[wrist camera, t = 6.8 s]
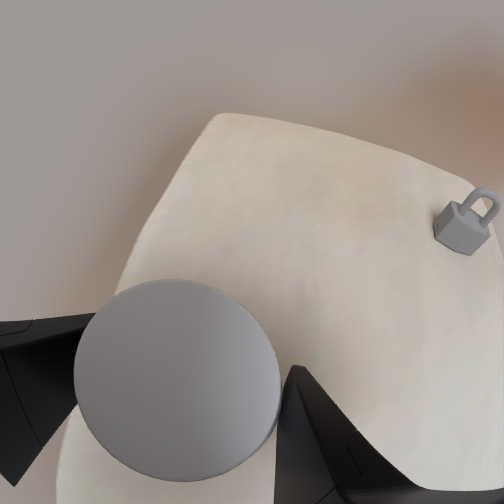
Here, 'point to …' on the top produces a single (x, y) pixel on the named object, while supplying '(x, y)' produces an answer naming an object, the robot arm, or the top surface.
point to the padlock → (466, 223)
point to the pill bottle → (177, 380)
